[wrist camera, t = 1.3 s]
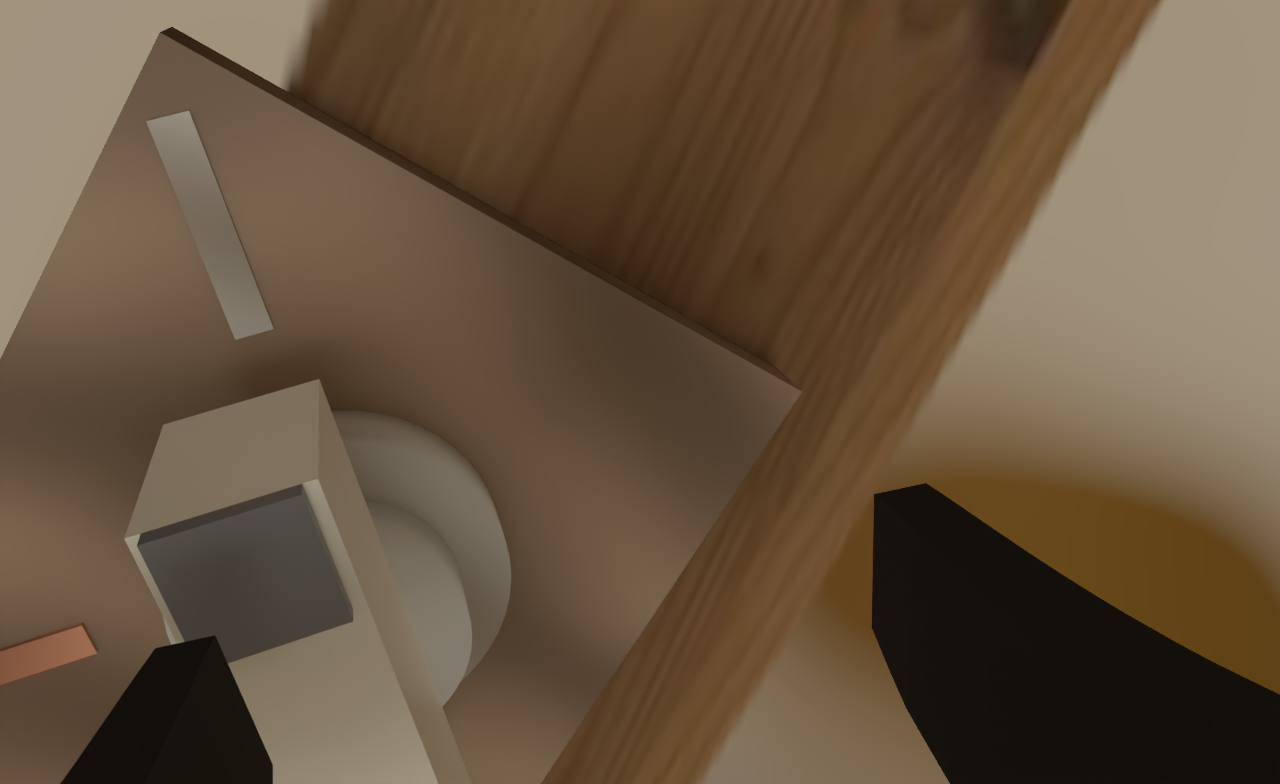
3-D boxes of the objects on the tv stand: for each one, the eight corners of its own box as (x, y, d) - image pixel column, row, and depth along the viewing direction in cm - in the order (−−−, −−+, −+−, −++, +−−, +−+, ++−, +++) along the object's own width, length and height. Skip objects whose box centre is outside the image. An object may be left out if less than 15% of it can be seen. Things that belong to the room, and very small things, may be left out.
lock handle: (523, 756, 22) (577, 973, 17) (317, 832, 21) (315, 1079, 17) (377, 329, 18) (397, 464, 13) (113, 406, 17) (33, 578, 12)
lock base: (456, 852, 27) (471, 951, 24) (-155, 693, 21) (-225, 801, 18) (775, 367, 24) (832, 418, 21) (172, 26, 18) (145, 38, 15)
